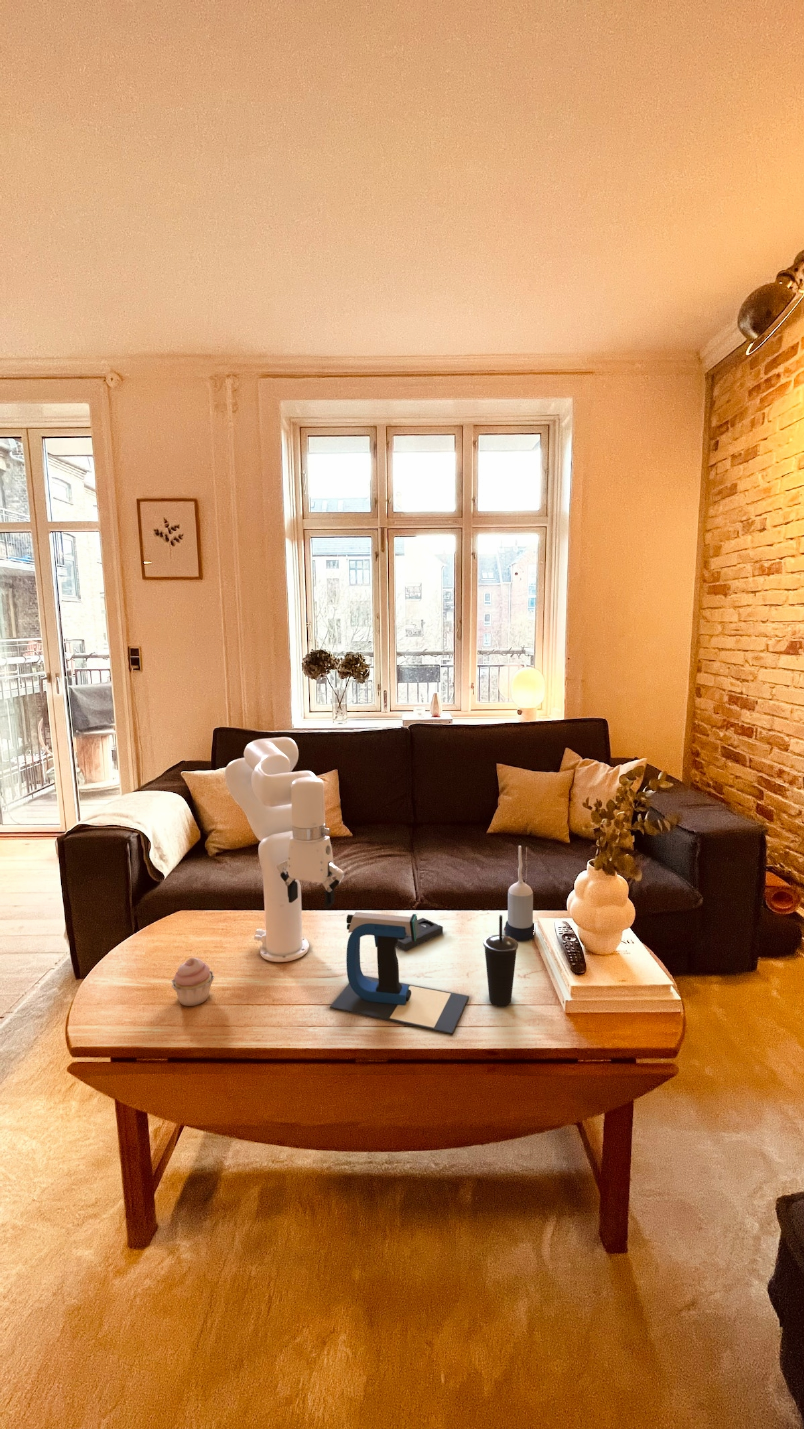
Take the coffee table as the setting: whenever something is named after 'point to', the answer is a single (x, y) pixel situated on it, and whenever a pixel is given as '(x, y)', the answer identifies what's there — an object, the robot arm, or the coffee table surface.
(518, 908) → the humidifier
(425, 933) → the vhs tape
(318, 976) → the coffee table surface
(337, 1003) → the mat
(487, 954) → the drinking cup
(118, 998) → the coffee table surface
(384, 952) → the handheld scanner
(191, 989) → the cupcake
